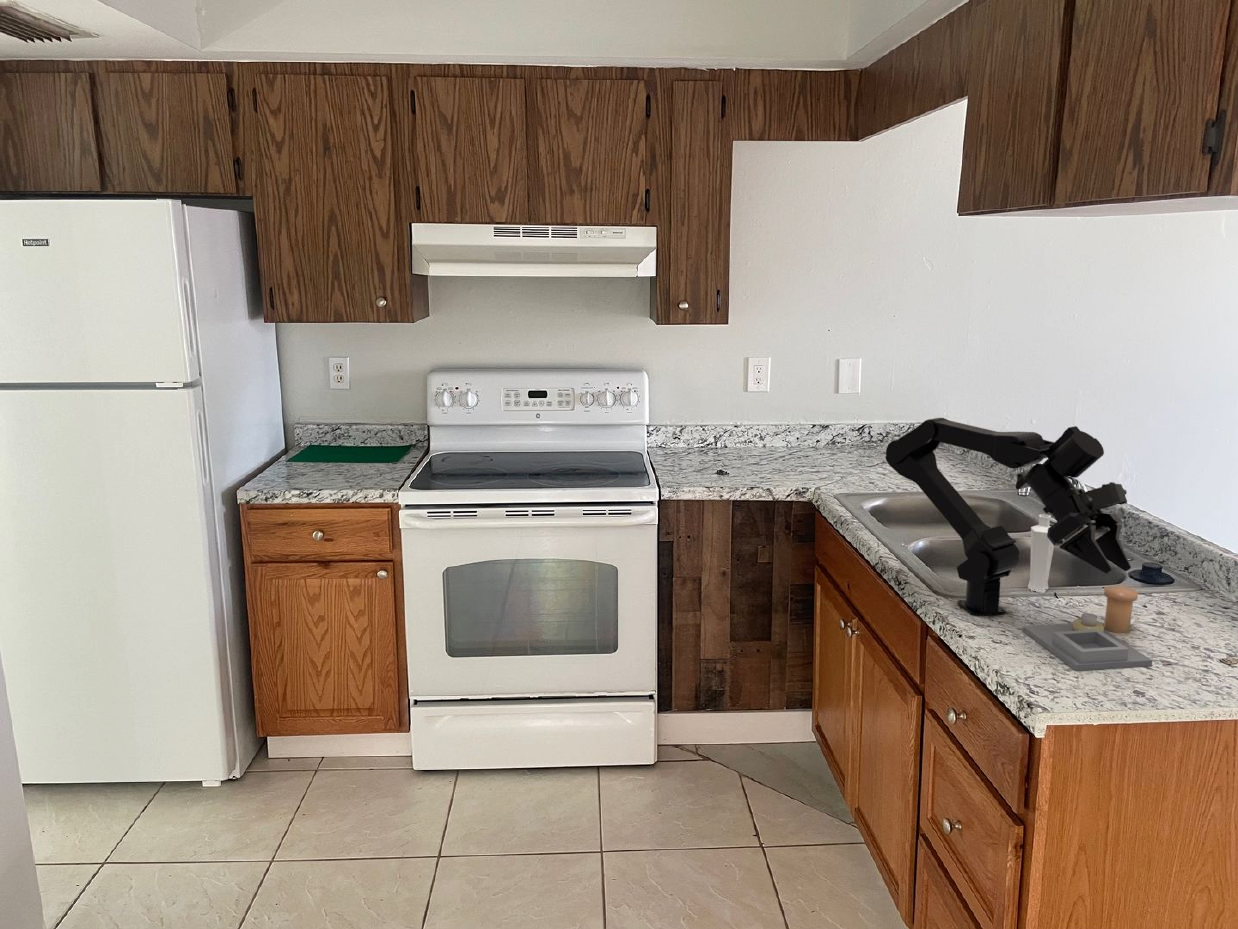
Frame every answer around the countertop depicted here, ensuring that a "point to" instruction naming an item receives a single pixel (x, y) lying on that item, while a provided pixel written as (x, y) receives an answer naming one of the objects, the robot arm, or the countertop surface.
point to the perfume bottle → (1040, 555)
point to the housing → (1086, 645)
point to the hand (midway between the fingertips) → (1119, 570)
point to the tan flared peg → (1119, 608)
